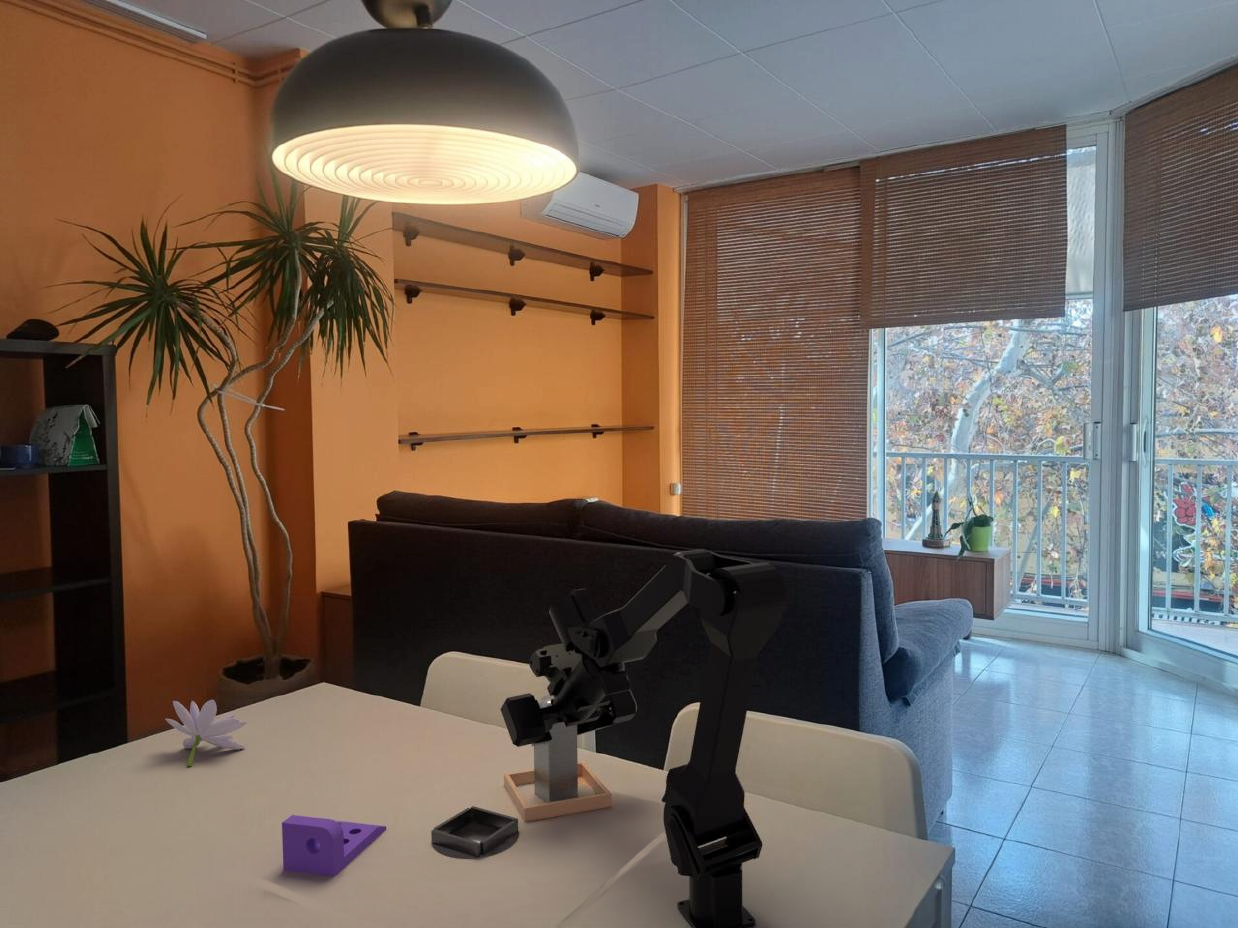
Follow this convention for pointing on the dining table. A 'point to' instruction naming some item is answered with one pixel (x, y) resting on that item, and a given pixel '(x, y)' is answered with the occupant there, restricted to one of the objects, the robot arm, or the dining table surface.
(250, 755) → the dining table surface
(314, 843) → the bracket
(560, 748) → the strut
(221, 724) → the water lily
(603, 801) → the tray
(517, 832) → the socket cup
